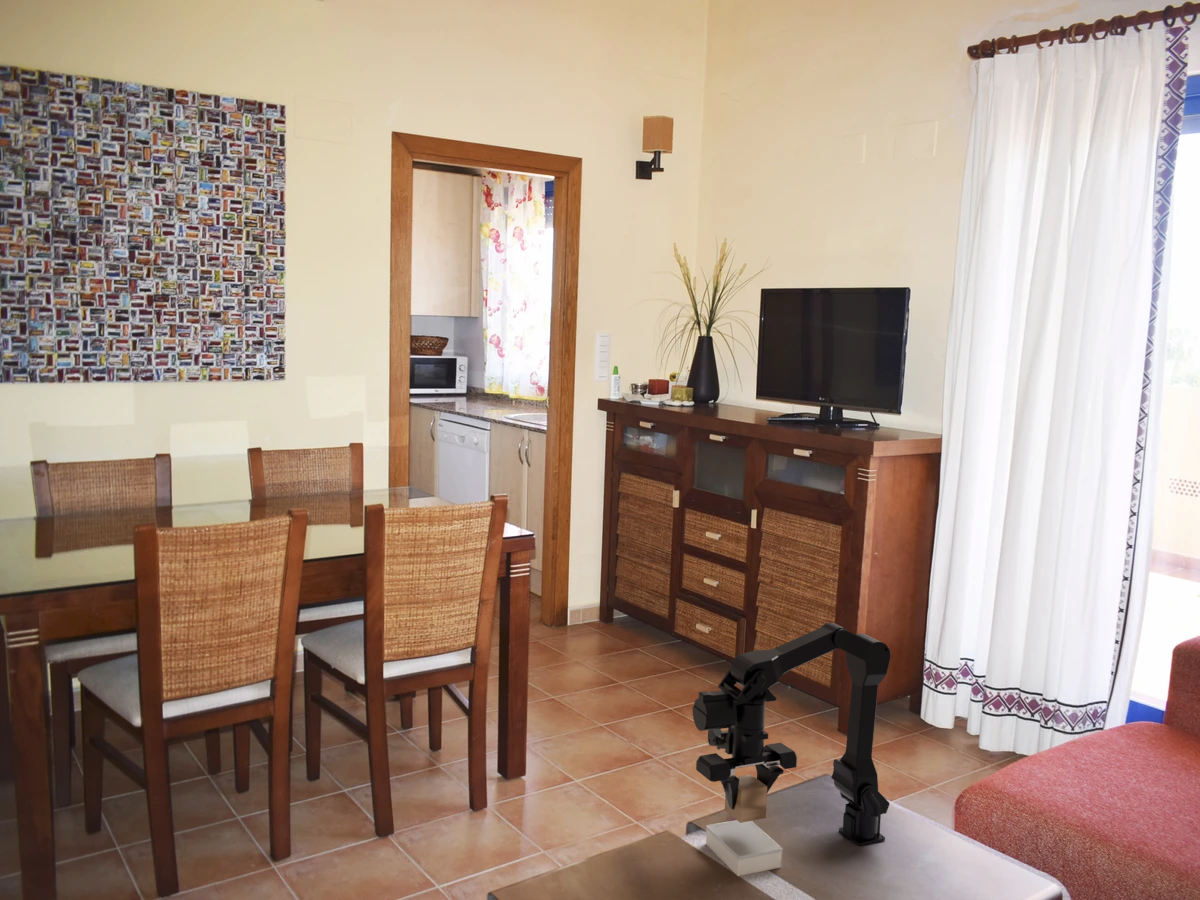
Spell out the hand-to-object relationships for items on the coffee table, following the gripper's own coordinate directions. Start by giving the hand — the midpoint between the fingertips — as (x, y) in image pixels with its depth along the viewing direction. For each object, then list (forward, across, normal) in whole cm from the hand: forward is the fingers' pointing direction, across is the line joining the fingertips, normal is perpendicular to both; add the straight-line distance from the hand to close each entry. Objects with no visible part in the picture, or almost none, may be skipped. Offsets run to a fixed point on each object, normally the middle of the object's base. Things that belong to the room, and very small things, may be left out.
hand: (745, 805), depth 178 cm
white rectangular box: (+10, 0, 0) cm, 10 cm away
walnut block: (+2, 0, 0) cm, 2 cm away
